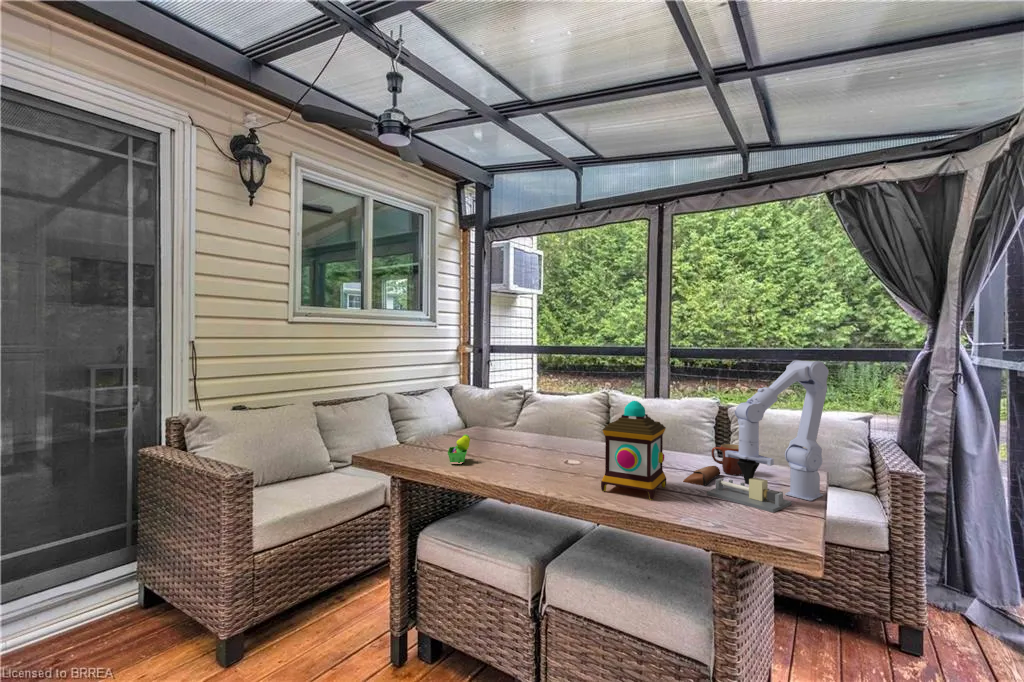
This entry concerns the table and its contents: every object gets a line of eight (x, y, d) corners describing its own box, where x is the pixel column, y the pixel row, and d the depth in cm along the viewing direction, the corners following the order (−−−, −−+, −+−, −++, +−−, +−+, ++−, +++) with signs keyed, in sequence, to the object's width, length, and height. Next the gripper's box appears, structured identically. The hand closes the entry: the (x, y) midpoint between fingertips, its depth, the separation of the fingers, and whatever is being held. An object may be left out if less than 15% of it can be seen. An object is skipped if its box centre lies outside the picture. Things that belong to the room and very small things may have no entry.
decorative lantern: (656, 503, 148) (656, 405, 149) (595, 492, 159) (596, 401, 159) (671, 486, 165) (671, 399, 166) (615, 477, 176) (616, 396, 176)
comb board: (706, 494, 157) (706, 480, 157) (725, 487, 164) (726, 474, 164) (773, 512, 140) (773, 497, 140) (791, 504, 148) (791, 490, 148)
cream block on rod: (748, 497, 150) (749, 479, 150) (754, 495, 153) (754, 477, 153) (761, 501, 147) (762, 482, 147) (767, 499, 149) (767, 480, 149)
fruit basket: (449, 458, 203) (449, 432, 203) (470, 458, 203) (470, 432, 203) (447, 465, 191) (447, 437, 191) (469, 465, 192) (469, 437, 192)
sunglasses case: (697, 471, 185) (706, 457, 183) (713, 483, 181) (723, 470, 179) (681, 482, 171) (691, 467, 169) (699, 495, 167) (709, 480, 165)
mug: (744, 471, 186) (744, 445, 186) (747, 477, 177) (747, 449, 177) (710, 468, 190) (710, 442, 190) (712, 474, 181) (712, 447, 181)
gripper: (720, 438, 156) (720, 480, 156) (766, 446, 144) (765, 491, 144) (731, 436, 160) (731, 476, 160) (776, 443, 148) (776, 487, 148)
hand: (748, 483), depth 152 cm, fingers closed
